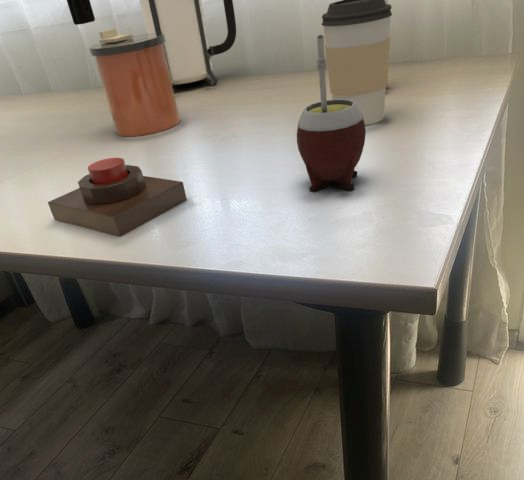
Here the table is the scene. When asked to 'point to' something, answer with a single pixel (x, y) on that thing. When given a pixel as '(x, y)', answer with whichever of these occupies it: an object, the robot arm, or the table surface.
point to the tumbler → (137, 84)
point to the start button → (107, 170)
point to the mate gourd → (330, 137)
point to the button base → (118, 202)
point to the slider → (112, 36)
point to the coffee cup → (358, 53)
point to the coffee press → (187, 37)
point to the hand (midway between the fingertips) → (84, 22)
